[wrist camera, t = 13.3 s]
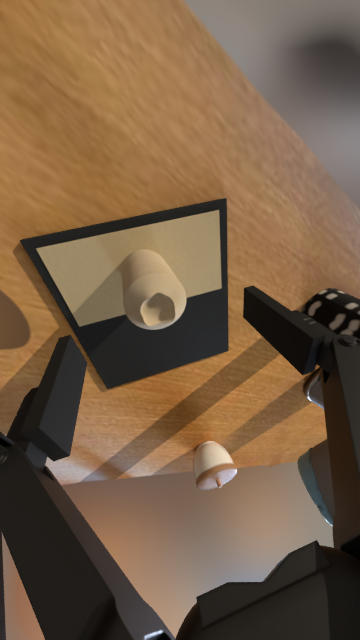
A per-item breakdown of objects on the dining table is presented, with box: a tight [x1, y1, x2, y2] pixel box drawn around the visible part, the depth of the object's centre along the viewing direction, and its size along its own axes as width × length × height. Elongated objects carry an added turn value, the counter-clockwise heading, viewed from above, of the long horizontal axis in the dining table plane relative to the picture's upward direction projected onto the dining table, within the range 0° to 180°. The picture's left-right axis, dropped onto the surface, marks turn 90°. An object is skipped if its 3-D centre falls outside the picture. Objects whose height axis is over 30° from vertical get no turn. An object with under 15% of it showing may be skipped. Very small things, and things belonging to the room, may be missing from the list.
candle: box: [122, 249, 186, 330], centre depth 20 cm, size 6×6×10 cm
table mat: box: [20, 198, 228, 389], centre depth 28 cm, size 22×24×1 cm
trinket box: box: [193, 441, 237, 490], centre depth 51 cm, size 11×11×9 cm
